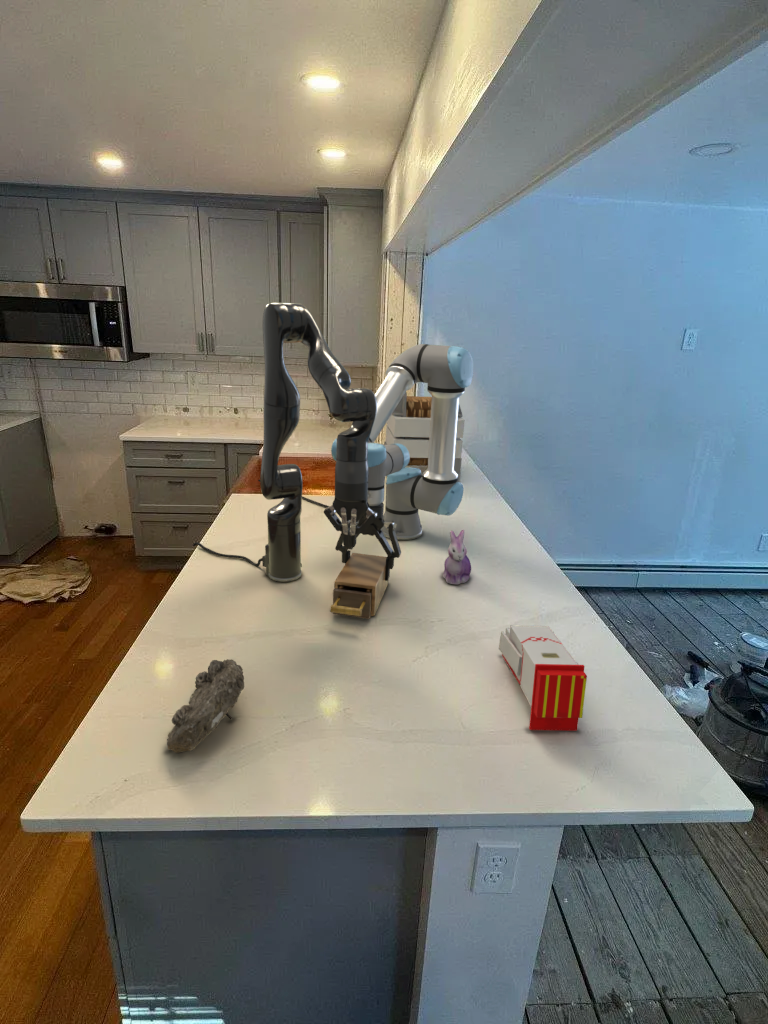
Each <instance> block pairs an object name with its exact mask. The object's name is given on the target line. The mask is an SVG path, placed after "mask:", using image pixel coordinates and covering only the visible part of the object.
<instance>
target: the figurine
mask: <svg viewBox="0 0 768 1024" xmlns="http://www.w3.org/2000/svg"><path fill="white" fill-rule="evenodd" d="M455 533H456V532H454V531H453V530H450V531H449V541H450V544H449V545H448V548H447V554H448V556H447V557H446V558H445V560H444V564H443V565H444V569H443V575H442V576H443V579H444V580H445V582H446V583H447V584H450V585H451V584H452V585H460V584H464V583H466V582H468V580H469V579H470V576H471V573H472V563H471V560H470V558H469V557H468V555H467V553H468V550H467V547H466V545H465V542H464V539H465V535H466V534H465V533H466V532H465V530H464V529H462V530H460V531H459V534H458V535H456V534H455Z"/></svg>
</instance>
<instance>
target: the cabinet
mask: <svg viewBox="0 0 768 1024" xmlns="http://www.w3.org/2000/svg"><path fill="white" fill-rule="evenodd" d="M386 558H387V556H382V555H375V554H368V553H359V552H351V553H350V558H349V559H348V561H347V562H346V564H345V563H344V565H343V566H342V569H341V570H340V572H339V574H338V575H337V577H336V578H335V579H334V588H336V589H339V586H340V585H345V586H353V587H360V588H368V589H372V603H371V614H370V617H375V615H376V613H377V610H378V608H379V607H380V603H381V601H382V600H383V597H384V594H385V593H386V589H387V587H388V585H389V580H388V581H385V571H386Z"/></svg>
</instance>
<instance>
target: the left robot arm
mask: <svg viewBox="0 0 768 1024" xmlns="http://www.w3.org/2000/svg"><path fill="white" fill-rule="evenodd" d="M262 342H263V357H264V390H263V391H264V392H263V441H262V442H263V444H262V456H261V463H260V465H261V466H260V476H259V480H260V482H259V483H260V491H261V494H262V496H263V498H264V499H266V500H268V501H272V500H273V501H274V500H281V499H282V500H281V501H279V503H277V504H276V505H274V506H272V507H271V508H269V509H268V510H267V514H266V520H267V521H266V522H267V544H265V547H264V550H265V551H264V553H265V555H263V556H261V558H259V559H258V560H257V563H255V562H253V561H252V559H250V558H248V557H246V556H244V555H237V554H226V553H225V554H223V553H220V552H217V551H214V550H212V549H210V548H208V547H206V546H205V545H203V544H202V543H201V542H199V541H198V542H194V543H193V544H192V546H193V547H196V546H198V547H200V548H201V549H202V550H204V551H206V552H208V553H210V554H212V555H215V556H219V557H222V558H230V559H231V558H232V559H239V560H240V559H242V560H245V561H246V562H247V563H249V564H251V565H252V566H254V567H259V566H260V565H261V563H262V567H264V568H265V576H267V577H269V579H270V580H272V581H274V582H279V583H280V582H281V583H290V582H293V581H296V580H298V579H300V578H301V576H302V543H301V542H302V539H301V538H302V537H301V535H302V533H301V516H302V515H301V514H302V511H303V499H302V497H303V490H304V489H303V487H304V485H303V483H304V482H303V475H302V474H303V473H302V471H301V467H299V466H298V465H297V464H296V463H285V464H279V461H280V457H281V454H282V450H283V449H284V447H285V445H286V444H287V443H288V441H289V440H290V438H291V437H292V435H293V434H294V432H295V430H296V429H297V427H298V425H299V422H300V417H301V416H300V415H301V414H300V413H301V395H300V391H299V389H298V387H297V385H296V383H295V382H294V380H293V378H292V376H291V374H290V373H289V371H288V369H287V366H286V364H285V360H284V359H285V358H284V344H292V343H293V344H296V343H301V344H303V346H305V347H306V348H307V350H308V353H307V368H308V372H309V374H310V376H311V377H312V379H313V380H314V382H315V383H316V384H317V386H318V387H319V388H320V390H321V391H322V393H323V397H324V399H325V402H326V406H327V408H328V412H329V414H330V416H331V417H332V418H333V419H335V420H336V421H337V422H340V423H350V422H351V424H350V427H349V428H347V429H346V430H344V431H341V432H339V433H338V434H337V437H336V438H337V452H336V461H335V466H334V499H333V502H332V505H329V506H330V507H325V509H324V510H323V514H324V516H325V517H326V518H327V520H328V521H329V523H330V524H331V525H332V526H333V528H334V530H336V531H337V532H340V533H341V532H342V533H343V544H342V545H343V546H346V549H348V550H353V549H354V548H355V547H356V545H357V538H358V537H357V534H358V533H359V535H361V533H362V532H363V531H364V530H365V529H366V528H367V527H368V526H369V525H370V524H371V523H372V522H373V521H374V520H375V518H376V517H377V515H378V513H377V512H373V511H372V510H371V509H370V508H369V503H368V501H367V496H368V478H369V473H368V441H369V437H370V434H371V431H372V427H373V424H374V421H375V417H376V413H377V400H376V397H375V393H374V391H373V390H372V389H370V388H367V387H355V388H354V387H353V388H350V387H351V385H352V377H351V375H350V374H349V372H348V371H347V369H346V368H345V366H343V364H342V363H341V362H340V360H339V359H338V358H337V357H336V355H335V354H334V353H333V351H332V350H331V349H330V347H329V345H328V343H327V341H326V339H325V337H324V335H323V333H322V330H321V329H320V327H319V325H318V323H317V322H316V319H315V318H314V316H313V314H312V313H311V311H310V310H309V308H307V306H306V305H304V304H303V303H299V302H278V301H277V302H269V303H267V304H266V305H265V307H264V310H263V314H262ZM336 513H337V514H336ZM365 513H367V515H366V518H367V520H366V521H365V522H364V523H363V524H362V525H361V526H359V527H358V522H359V520H360V519H361V517H362V516H363V515H364V514H365ZM350 521H351V523H350Z"/></svg>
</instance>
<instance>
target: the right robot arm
mask: <svg viewBox="0 0 768 1024" xmlns="http://www.w3.org/2000/svg"><path fill="white" fill-rule="evenodd" d="M473 360H474V359H473V357H472V355H471V353H470V351H469V350H468V349H466V348H465V347H461V346H455V345H441V344H427V343H419V344H416V345H413V346H411V347H409V348H407V349H406V350H404V351H403V352H401V353H400V354H399V355H398V356H396V357H395V358H394V359H393V361H392V362H391V363H390V364H389V366H388V367H387V369H386V371H385V378H384V380H383V381H382V382H381V384H380V386H379V387H378V389H377V390H376V392H375V393H374V395H375V397H376V400H377V413H376V417H375V421H374V424H373V427H372V431H371V434H370V437H369V441H368V473H369V478H368V496H367V501H368V503H369V508H370V509H371V510H372V511H373V512H377V513H378V515H377V517H376V518H375V520H374V521H373V522H372V523H371V524H370V525H369V526H368V527H367V528H366V529H365V530H364V531H363V532H362V533H361V534H362V535H363V536H370V537H375V538H376V539H377V540H378V542H379V543H380V545H381V547H382V549H383V551H384V552H385V554H386V555H387V556H386V557H387V558H386V571H385V581H388V582H389V579H390V574H391V570H393V568H394V566H395V559H396V558H400V557H401V555H402V551H401V547H400V544H399V541H410V540H415V539H418V538H420V537H421V536H422V535H423V525H422V524H421V518H420V515H419V510H420V511H425V512H429V513H432V514H436V515H438V516H439V515H442V516H447V517H448V516H449V517H450V516H452V515H453V514H454V513H456V511H457V510H458V508H459V506H460V504H461V502H462V500H463V496H464V484H463V483H462V482H461V481H460V482H458V474H457V473H456V472H455V471H454V460H455V447H456V434H457V421H458V407H459V405H460V398H461V396H462V395H463V394H464V393H465V391H466V388H468V387H469V386H471V384H472V382H473V378H474V361H473ZM418 383H424V384H427V387H426V388H427V392H428V393H429V394H430V397H432V402H431V419H430V436H429V454H428V466H427V468H426V470H424V471H423V472H422V470H421V468H419V467H413V466H411V467H409V466H407V465H408V463H409V460H410V455H409V451H408V450H407V448H406V447H405V446H404V445H402V444H398V443H397V444H391V445H384V443H378V442H376V440H377V438H378V437H379V435H380V434H381V432H382V431H383V429H384V428H385V426H386V425H387V423H386V422H387V421H388V419H389V418H390V416H391V414H392V413H393V411H394V410H395V408H396V406H397V405H398V403H399V402H400V400H401V398H402V397H403V395H404V394H405V392H406V393H407V391H409V390H411V389H412V388H413V387H414V386H415V384H418ZM330 449H331V450H330V453H331V457H332V459H333V460H334V461H335V462H336V452H337V437H336V438H335V439H333V442H332V444H331V448H330ZM257 482H259V483H260V479H258V480H257ZM302 500H305V501H307V502H310V503H313V504H315V505H319V506H321V507H323V508H327V507H330V506H331V505H327V504H323V503H321V502H318V501H315V500H312V499H310V498H307V497H305V496H302ZM384 502H385V504H384ZM384 506H385V507H384ZM384 508H385V509H384ZM366 515H367V513H365V514H364V515H363V516H362V517H361V519H360V520H359V522H358V527H359V526H361V525H362V524H363V523H364V522H365V521H366V520H367V518H366ZM350 523H351V521H350ZM361 534H359V533H358V534H357V538H358V537H359V536H360V535H361ZM387 539H389V540H390V543H391V545H390V543H389V541H388V540H387ZM334 549H335V551H336V552H337V551H339V552H341V563H342V564H344V565H345V564H346V562H347V561H348V559H349V558H350V556H351V550H350V549H346V546H344V545H343V533H342V532H341V531H340V535H339V537H338V540H337V542H336V545H335V548H334Z"/></svg>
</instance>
